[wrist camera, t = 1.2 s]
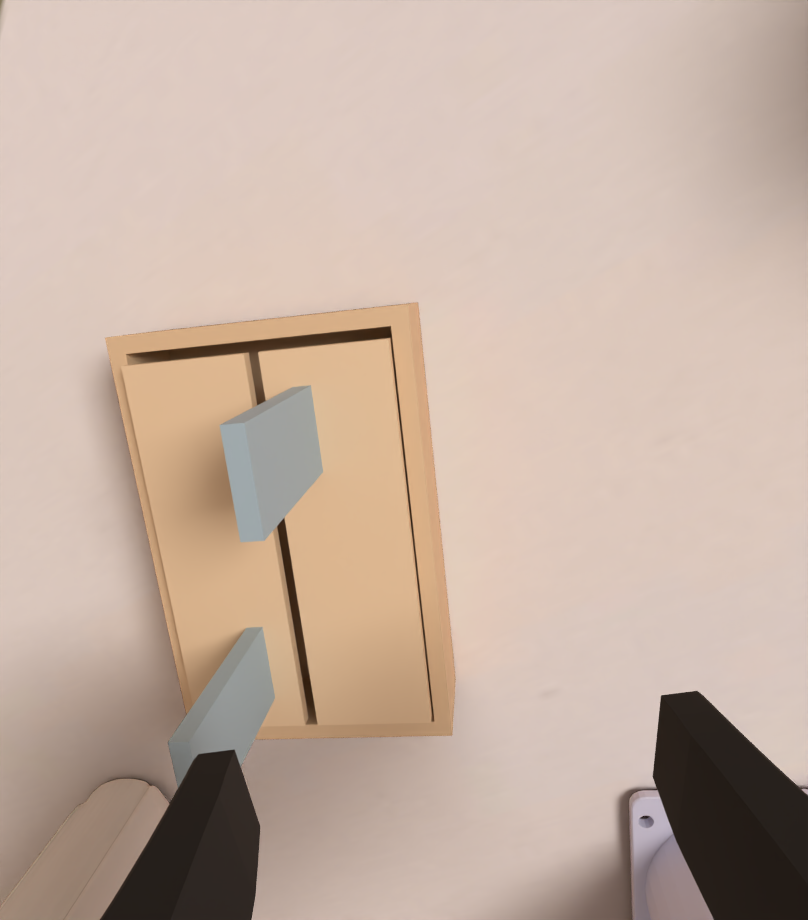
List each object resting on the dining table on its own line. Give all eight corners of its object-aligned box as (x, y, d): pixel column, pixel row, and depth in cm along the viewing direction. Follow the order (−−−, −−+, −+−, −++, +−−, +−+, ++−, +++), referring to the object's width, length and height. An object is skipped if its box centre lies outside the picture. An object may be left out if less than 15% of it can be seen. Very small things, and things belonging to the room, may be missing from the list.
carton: (455, 679, 23) (452, 735, 20) (226, 686, 24) (191, 740, 21) (417, 302, 20) (407, 304, 17) (156, 331, 21) (105, 337, 18)
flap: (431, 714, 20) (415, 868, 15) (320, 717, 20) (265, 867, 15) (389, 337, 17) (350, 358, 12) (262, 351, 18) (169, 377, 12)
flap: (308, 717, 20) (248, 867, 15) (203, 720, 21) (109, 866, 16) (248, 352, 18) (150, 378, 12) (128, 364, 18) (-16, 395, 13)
